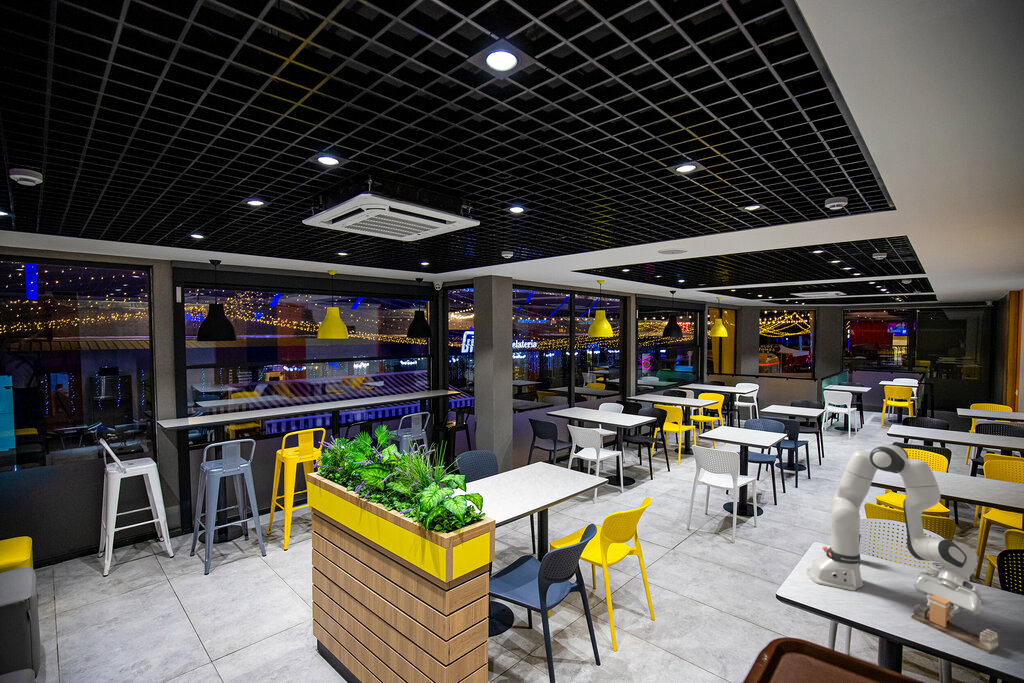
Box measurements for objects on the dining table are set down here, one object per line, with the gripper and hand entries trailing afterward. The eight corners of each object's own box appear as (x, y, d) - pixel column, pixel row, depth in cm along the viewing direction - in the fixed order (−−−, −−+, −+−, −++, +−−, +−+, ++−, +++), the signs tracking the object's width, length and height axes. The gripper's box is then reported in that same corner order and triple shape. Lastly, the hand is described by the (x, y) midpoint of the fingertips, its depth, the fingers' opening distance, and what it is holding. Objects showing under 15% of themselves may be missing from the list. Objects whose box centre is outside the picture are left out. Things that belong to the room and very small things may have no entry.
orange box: (929, 620, 191) (929, 597, 191) (935, 617, 193) (935, 594, 192) (945, 627, 186) (945, 603, 186) (950, 624, 188) (951, 600, 188)
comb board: (911, 617, 195) (911, 604, 195) (921, 612, 198) (921, 599, 198) (988, 653, 173) (989, 638, 173) (999, 647, 176) (999, 632, 176)
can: (942, 587, 218) (942, 561, 218) (956, 596, 211) (956, 569, 210) (925, 586, 219) (925, 560, 218) (938, 595, 211) (938, 568, 211)
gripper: (918, 566, 201) (905, 594, 197) (982, 589, 183) (969, 621, 179) (924, 574, 203) (911, 602, 199) (987, 598, 185) (975, 629, 181)
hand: (939, 611), depth 189 cm, fingers closed on orange box, 5 cm apart
